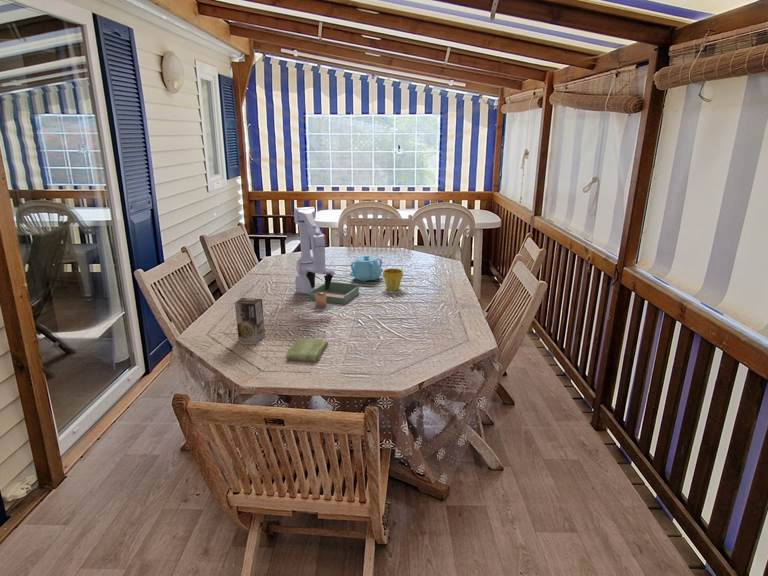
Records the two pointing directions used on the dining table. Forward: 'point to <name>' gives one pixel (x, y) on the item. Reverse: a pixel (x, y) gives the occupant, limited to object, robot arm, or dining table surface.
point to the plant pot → (392, 278)
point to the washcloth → (306, 350)
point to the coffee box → (250, 319)
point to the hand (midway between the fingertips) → (320, 288)
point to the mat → (326, 308)
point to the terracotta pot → (321, 299)
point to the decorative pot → (366, 268)
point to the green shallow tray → (337, 292)
